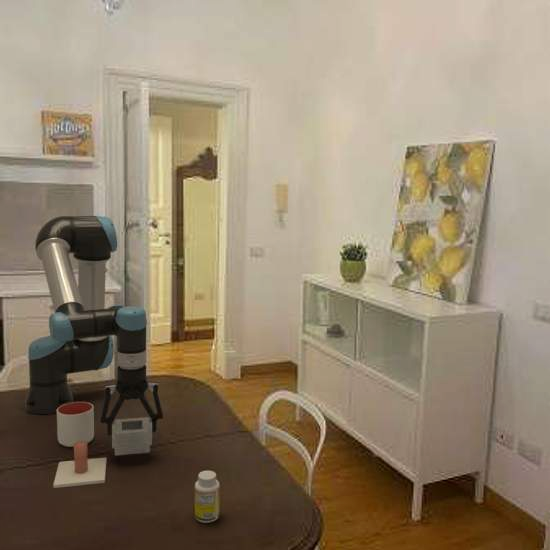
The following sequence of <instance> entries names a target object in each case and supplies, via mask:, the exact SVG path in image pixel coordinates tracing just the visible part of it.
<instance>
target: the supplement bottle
mask: <svg viewBox="0 0 550 550" xmlns="http://www.w3.org/2000/svg"><path fill="white" fill-rule="evenodd" d="M220 492H221V491H220V482H219V480H218V479H217V473H216V472H215V471H214V470H203V471H201V472H199V473H198V477H197V481H196V482H195V483H194V517H195V519H196V521H198V522H200V523H203V524H204V523H205V524H206V523H212V522H214V521H216V520H218V519H219V517H220V500H221V499H220Z"/></svg>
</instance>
